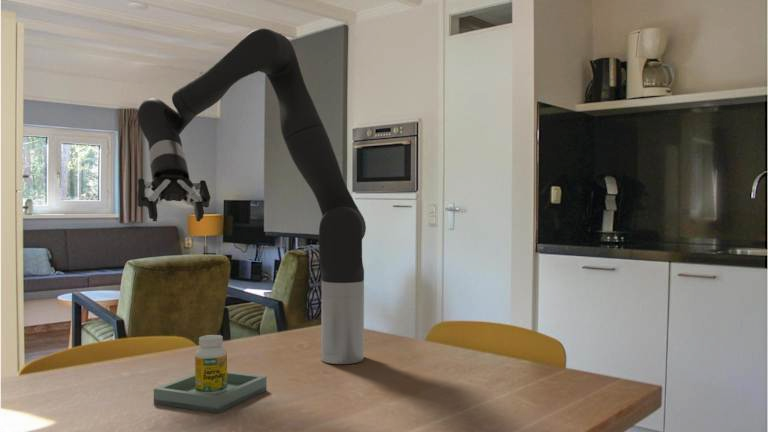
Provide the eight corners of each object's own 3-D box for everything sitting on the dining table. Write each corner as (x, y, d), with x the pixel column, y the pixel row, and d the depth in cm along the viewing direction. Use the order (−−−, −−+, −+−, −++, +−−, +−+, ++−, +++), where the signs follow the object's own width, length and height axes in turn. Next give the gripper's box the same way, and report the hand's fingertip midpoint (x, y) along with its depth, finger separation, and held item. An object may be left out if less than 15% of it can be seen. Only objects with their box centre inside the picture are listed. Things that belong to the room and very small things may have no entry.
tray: (207, 382, 117) (207, 369, 117) (266, 390, 112) (266, 376, 112) (153, 403, 104) (153, 388, 104) (217, 413, 99) (217, 397, 99)
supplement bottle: (221, 385, 112) (221, 332, 112) (231, 393, 107) (231, 337, 107) (191, 390, 109) (191, 335, 109) (200, 398, 104) (200, 341, 104)
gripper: (135, 150, 130) (141, 205, 120) (204, 153, 137) (216, 205, 126) (132, 177, 135) (138, 231, 125) (199, 179, 141) (210, 231, 131)
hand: (177, 218), depth 126 cm, fingers open, 8 cm apart
